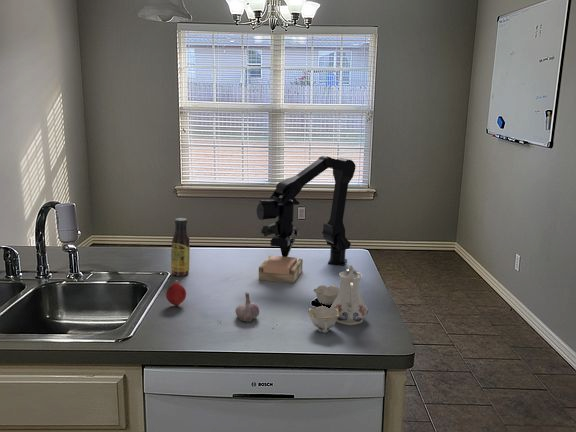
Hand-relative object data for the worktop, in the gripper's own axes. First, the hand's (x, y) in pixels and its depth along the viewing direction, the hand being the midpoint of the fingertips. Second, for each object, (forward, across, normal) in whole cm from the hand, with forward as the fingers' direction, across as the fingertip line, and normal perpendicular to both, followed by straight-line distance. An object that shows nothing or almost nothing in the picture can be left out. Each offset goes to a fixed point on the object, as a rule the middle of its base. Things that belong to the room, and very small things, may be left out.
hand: (284, 259), depth 201 cm
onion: (+4, +43, -23) cm, 49 cm away
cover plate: (+1, +7, 0) cm, 7 cm away
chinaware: (+4, +38, +25) cm, 46 cm away
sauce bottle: (+4, +15, -34) cm, 37 cm away
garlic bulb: (+4, +46, 0) cm, 46 cm away
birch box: (+4, +6, 0) cm, 7 cm away
